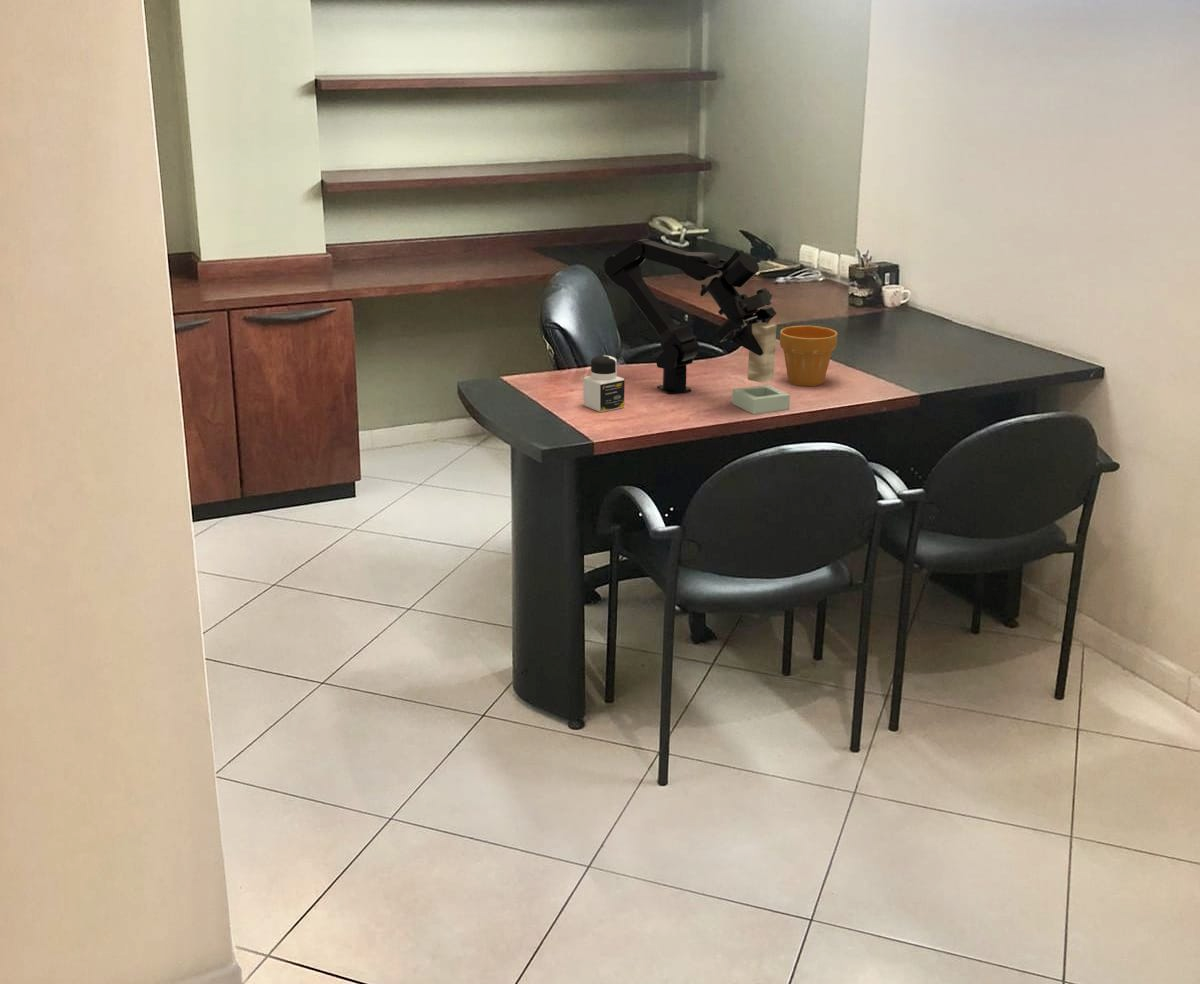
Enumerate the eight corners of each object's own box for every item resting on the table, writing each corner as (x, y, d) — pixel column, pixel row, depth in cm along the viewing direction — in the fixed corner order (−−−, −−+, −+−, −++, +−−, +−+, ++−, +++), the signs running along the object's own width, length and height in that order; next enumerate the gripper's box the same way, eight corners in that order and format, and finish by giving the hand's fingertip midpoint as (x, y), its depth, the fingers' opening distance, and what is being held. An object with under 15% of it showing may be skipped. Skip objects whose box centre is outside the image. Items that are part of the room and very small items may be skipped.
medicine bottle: (600, 412, 286) (600, 362, 282) (582, 405, 291) (582, 356, 287) (624, 407, 290) (625, 358, 286) (607, 400, 295) (607, 352, 291)
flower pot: (791, 391, 303) (794, 339, 299) (768, 376, 316) (771, 327, 312) (843, 387, 307) (847, 336, 302) (819, 373, 320) (822, 323, 315)
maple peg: (747, 379, 287) (750, 325, 283) (757, 375, 291) (760, 321, 286) (763, 382, 285) (766, 328, 280) (773, 379, 288) (776, 324, 284)
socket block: (731, 403, 293) (732, 389, 292) (767, 398, 297) (767, 384, 296) (753, 414, 285) (754, 399, 284) (789, 409, 289) (789, 394, 288)
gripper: (729, 284, 275) (769, 340, 272) (771, 272, 289) (810, 325, 286) (698, 314, 282) (737, 368, 280) (741, 301, 296) (778, 352, 294)
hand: (767, 352), depth 285 cm, fingers closed on maple peg, 4 cm apart
